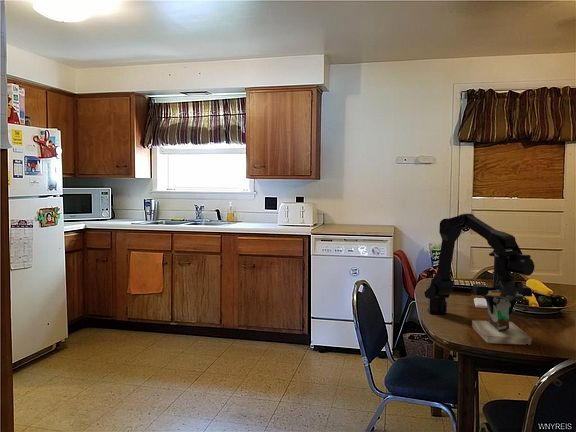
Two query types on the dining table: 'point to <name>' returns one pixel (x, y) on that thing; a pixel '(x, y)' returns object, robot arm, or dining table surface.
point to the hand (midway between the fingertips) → (500, 314)
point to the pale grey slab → (501, 333)
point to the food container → (499, 313)
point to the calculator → (480, 302)
